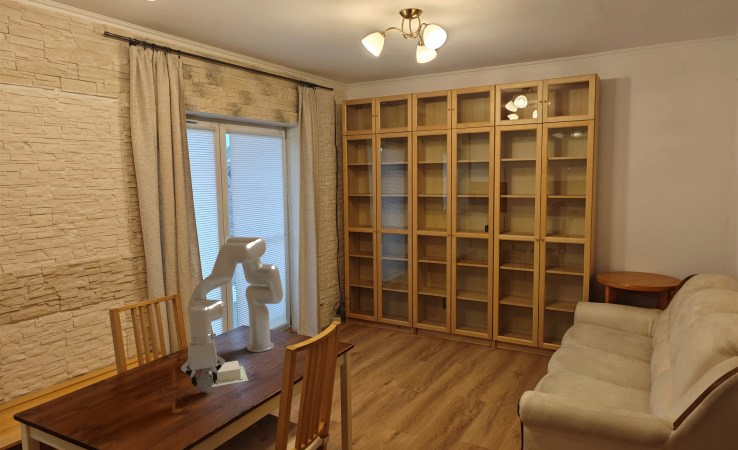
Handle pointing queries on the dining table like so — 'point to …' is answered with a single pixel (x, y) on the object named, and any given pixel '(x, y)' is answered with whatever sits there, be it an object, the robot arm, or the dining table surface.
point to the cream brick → (229, 371)
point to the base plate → (241, 379)
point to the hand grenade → (204, 380)
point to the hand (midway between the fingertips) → (204, 383)
